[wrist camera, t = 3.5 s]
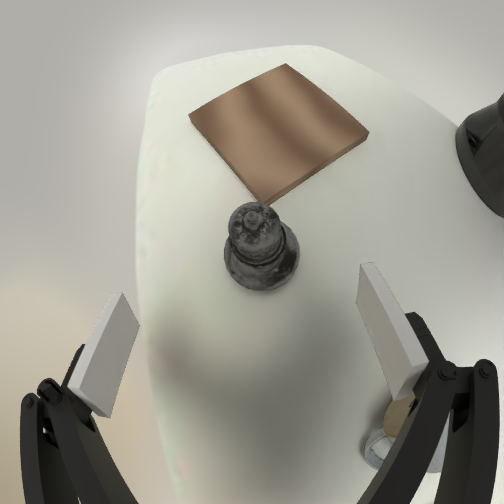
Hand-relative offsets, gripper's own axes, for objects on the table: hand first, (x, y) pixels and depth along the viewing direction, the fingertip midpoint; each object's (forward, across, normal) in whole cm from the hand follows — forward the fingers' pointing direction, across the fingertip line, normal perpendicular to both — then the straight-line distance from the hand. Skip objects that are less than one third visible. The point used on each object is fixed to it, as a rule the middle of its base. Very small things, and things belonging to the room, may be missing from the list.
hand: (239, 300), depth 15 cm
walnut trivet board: (+20, +5, +6) cm, 21 cm away
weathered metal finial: (+10, +1, -4) cm, 11 cm away
